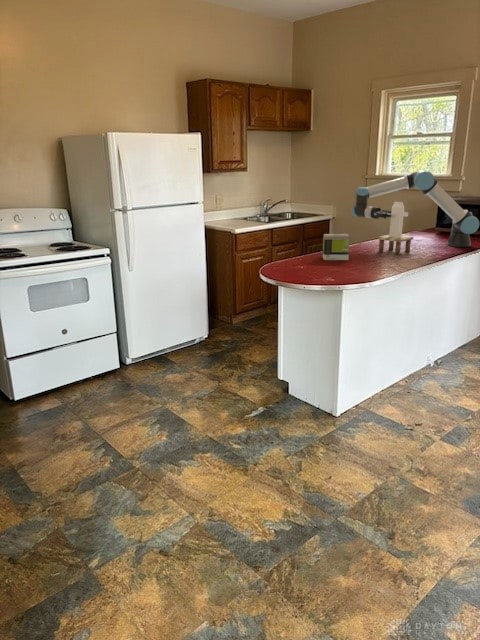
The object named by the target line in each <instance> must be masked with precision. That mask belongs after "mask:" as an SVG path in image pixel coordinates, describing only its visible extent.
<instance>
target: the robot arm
mask: <svg viewBox="0 0 480 640" xmlns="http://www.w3.org/2000/svg"><path fill="white" fill-rule="evenodd" d="M405 189H407V190H409V189H417V190H419V192H421V193H422V194H423V196H428V197H429V198H430V199H431V200H432V201H434V203H436V205H437V206H438V207H439V208H440V209H441V210H442V211H443V212H445V214H446V215H448V217H449V218H450V219H451V220H452V225H451V231H450V235H449V238H448V239H447V241H446V246H450V247H454V248H455V247H456V248H457V247H458V248H468V247H471V238H470V237H471V236H470V235H471V234H474V233H475V232H477V231H478V229H479V227H480V221H479V219H478V218H477V217H476V216H474V215H473V212H472V211H469V210H468V209H463V207H461V206H460V205H459V204H458V203H457V202H456V201H455V200H454V199H453V198H452V197H451V196H450V195H449V194H448V193H447V192H446V191H445V190H444V189H443V188H442V187H441V186H440V185H439V181H438V179H436V177H435V176H434V174H433V173H432V172H430V171H429V170H422V169H419V170H416V171H413V172H411V173H408V174H404V176H403V177H399V178H395V179H393V180H392V179H391V180H388V181H384V182H380V183H377V184H374V185H370V186H366V187H365V186H364V187H363V186H362V187H360V186H359V187H357V188H356V190H355V191H354V195H353V196H354V197H355V205H353V206H352V208H351V210H350V211H351V214H352V216H353V217H357V218H364V219H365V218H366V219H367V218H368V219H375V220H379V218H382V219H385V220H386V219H391V218H394V219H397V214H391V211H392V210H385V209H381V207H380V206H370V205H368V200H369V198H374V197H377V196H382V195H385V194H389V193H392V192H393V193H394V192H397V191H400V190H405ZM404 217H406V218H407V217H408V218H409V212H407V211H404Z"/></svg>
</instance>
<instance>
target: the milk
mask: <svg viewBox="0 0 480 640" xmlns="http://www.w3.org/2000/svg"><path fill="white" fill-rule="evenodd" d="M390 211H391V214H397V219H394V218H390V222H389V233H388V235H389V237H394V238H399V237H401V236H403V235H402V234H403V226H404V225H403V224H404V217H405V216H404V212H405V205H404V202H403V201H393V205H392V206H391V210H390Z"/></svg>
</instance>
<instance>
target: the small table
mask: <svg viewBox="0 0 480 640" xmlns="http://www.w3.org/2000/svg"><path fill="white" fill-rule="evenodd" d="M377 240H379V243H378V252H377V253H384V248H385V247H384V246H385V241H389V242H388V250H389V251H394V255H395V256H400V255H401V249H402V248H401V245H402V243H403V242H405V246H404V247H405V248H404V253H405V252H406V254H407V253H409V252H411V244H412V243H411V242H412V240H414V236H409V235H408V236H407V235H402V236H401V237H399V238H394V237H389V234H385V235H384V234H383V235H380V236H377ZM394 245H395V249H394ZM409 254H410V253H409Z"/></svg>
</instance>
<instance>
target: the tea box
mask: <svg viewBox="0 0 480 640" xmlns="http://www.w3.org/2000/svg"><path fill="white" fill-rule="evenodd" d="M322 237H323V238H322V240H323V241H322V258H323V260H324V261H349V260H350V259H349V257H350V256H349V255H350V238H351V237H350V235H349V234H348V233H324V234H323V236H322Z"/></svg>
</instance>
